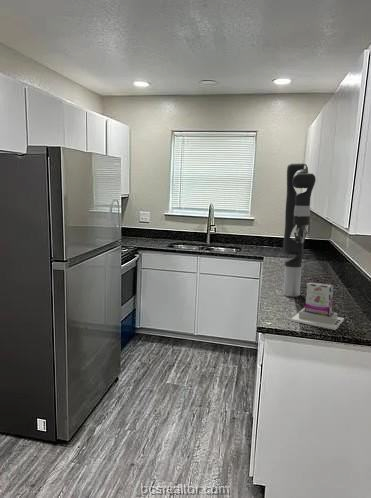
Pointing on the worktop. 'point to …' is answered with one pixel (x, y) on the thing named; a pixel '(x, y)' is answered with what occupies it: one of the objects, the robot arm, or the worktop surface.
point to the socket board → (318, 319)
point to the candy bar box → (319, 299)
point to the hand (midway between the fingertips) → (299, 250)
